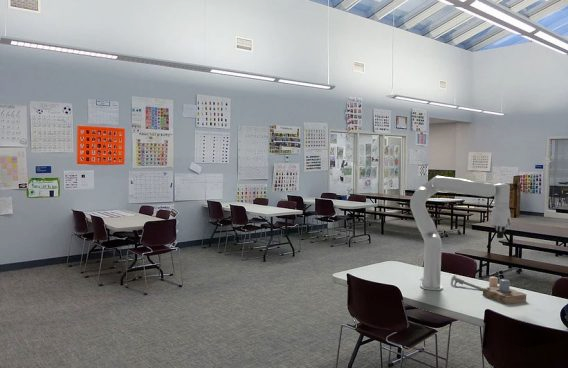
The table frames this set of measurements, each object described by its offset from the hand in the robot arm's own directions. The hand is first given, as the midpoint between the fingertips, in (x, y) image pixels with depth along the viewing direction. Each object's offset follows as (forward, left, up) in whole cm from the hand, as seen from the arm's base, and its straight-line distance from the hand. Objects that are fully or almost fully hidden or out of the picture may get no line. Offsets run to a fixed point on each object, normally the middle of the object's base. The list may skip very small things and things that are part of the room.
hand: (500, 238), depth 244 cm
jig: (+7, -3, -32) cm, 33 cm away
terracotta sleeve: (-5, +2, -32) cm, 33 cm away
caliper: (-15, -7, -33) cm, 36 cm away
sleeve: (+7, -3, -32) cm, 33 cm away
